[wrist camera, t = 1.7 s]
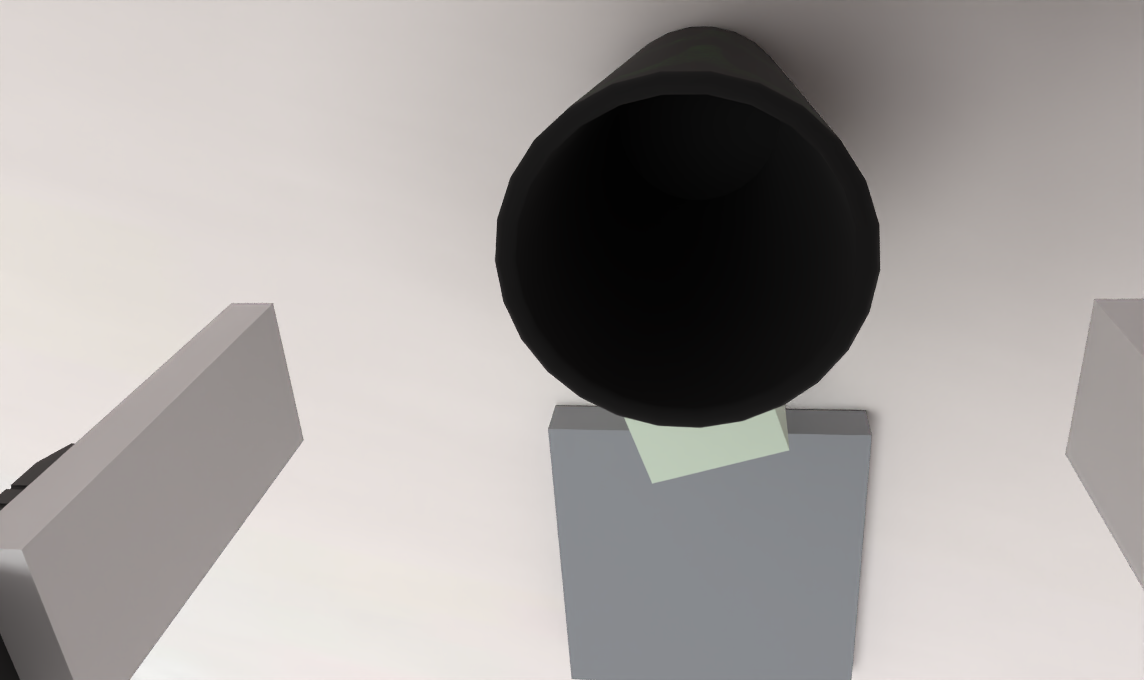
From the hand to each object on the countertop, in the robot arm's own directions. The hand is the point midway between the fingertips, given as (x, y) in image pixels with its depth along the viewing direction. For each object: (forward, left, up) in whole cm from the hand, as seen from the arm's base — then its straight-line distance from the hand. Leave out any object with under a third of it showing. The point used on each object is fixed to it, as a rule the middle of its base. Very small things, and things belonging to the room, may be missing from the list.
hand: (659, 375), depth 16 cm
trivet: (+13, +10, -16) cm, 23 cm away
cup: (0, 0, -16) cm, 16 cm away
